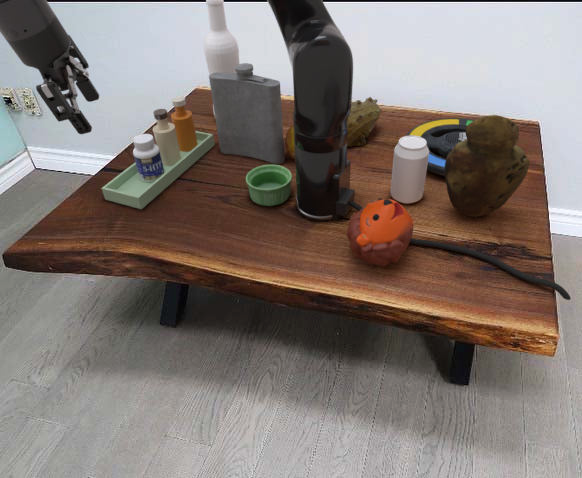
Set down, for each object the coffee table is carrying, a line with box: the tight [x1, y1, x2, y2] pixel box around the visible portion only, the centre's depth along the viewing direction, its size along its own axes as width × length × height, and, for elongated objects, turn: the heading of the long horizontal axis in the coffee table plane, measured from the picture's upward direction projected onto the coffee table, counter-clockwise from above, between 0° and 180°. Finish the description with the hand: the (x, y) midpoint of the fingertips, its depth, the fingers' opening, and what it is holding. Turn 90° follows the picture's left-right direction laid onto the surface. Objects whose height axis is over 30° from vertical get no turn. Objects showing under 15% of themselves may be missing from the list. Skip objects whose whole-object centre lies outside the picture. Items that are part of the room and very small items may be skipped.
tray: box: [101, 130, 216, 210], centre depth 109 cm, size 9×27×3 cm, turn 155°
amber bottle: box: [170, 95, 198, 152], centre depth 112 cm, size 5×5×12 cm
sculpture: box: [444, 114, 530, 218], centre depth 86 cm, size 13×8×20 cm, turn 70°
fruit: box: [284, 124, 295, 160], centre depth 108 cm, size 10×9×8 cm
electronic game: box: [405, 117, 517, 177], centre depth 107 cm, size 23×23×5 cm
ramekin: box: [245, 164, 293, 207], centre depth 99 cm, size 9×9×4 cm
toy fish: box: [346, 198, 415, 267], centre depth 82 cm, size 12×10×11 cm
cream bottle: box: [152, 108, 182, 166], centre depth 107 cm, size 5×5×12 cm
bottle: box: [203, 0, 240, 117], centre depth 118 cm, size 8×8×30 cm
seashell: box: [347, 96, 383, 148], centre depth 115 cm, size 11×15×10 cm
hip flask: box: [208, 62, 286, 165], centre depth 107 cm, size 16×4×20 cm, turn 66°
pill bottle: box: [132, 133, 164, 182], centre depth 104 cm, size 5×5×9 cm
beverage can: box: [389, 135, 430, 205], centre depth 94 cm, size 6×6×12 cm
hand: (90, 115), depth 82 cm, fingers open, 8 cm apart
